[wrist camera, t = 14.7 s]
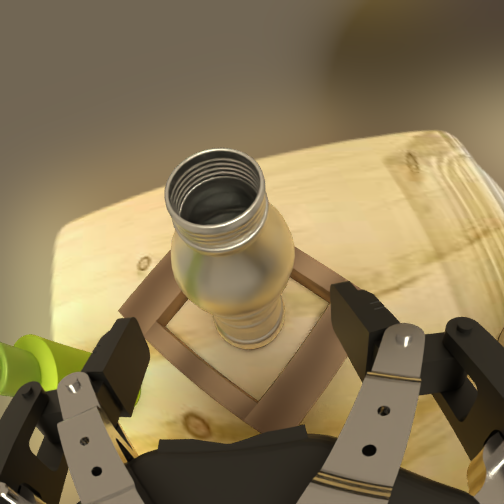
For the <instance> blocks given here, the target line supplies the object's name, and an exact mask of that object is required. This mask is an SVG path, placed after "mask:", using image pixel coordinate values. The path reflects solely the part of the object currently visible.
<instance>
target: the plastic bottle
mask: <svg viewBox="0 0 504 504" xmlns="http://www.w3.org/2000/svg"><path fill="white" fill-rule="evenodd" d="M165 202H166V207H167V210H168V212H169V214H170V216H171V217H172V221H173V225H174V228H175V232H174V234H173V237H172V243H171V263H172V270H173V273H174V277H175V280H176V282H177V284H178V286H179V288H180V289H181V291H182V292H183V293H184V294H185V295H186V297H187V298H188V299H189V300H191V301H192V302H193V303H194V304H195V305H197V306H198V307H199V308H201V309H202V310H204V311H206V312H208V313H210V314H212V315H213V320H214V323H215V326H216V329H217V330H218V332H219V334H220V335H221V336H222V337H223V339H224V340H225V341H227V342H228V343H230V344H231V345H233V346H235V347H238V348H242V349H255V348H260V347H262V346H264V345H266V344H268V343H269V342H271V341H272V340H273V339H274V338H275V337H276V336H277V335H278V333H279V332H280V330H281V328H282V325H283V323H284V318H285V308H284V303H283V300H282V297H281V293H282V292H283V290H284V288H285V287H286V285H287V283H288V280H289V278H290V275H291V272H292V269H293V265H294V258H295V250H294V242H293V238H292V235H291V232H290V230H289V228H288V226H287V224H286V222H285V220H284V218H283V216H282V215H281V214H280V213H279V211H278V210H277V209H276V208H275V207H274V206H273V205H271V204H270V203H269V202H268V198H267V194H266V191H265V179H264V176H263V173H262V170H261V168H260V166H259V165H258V163H257V162H256V161H255V160H254V159H253V158H252V157H250V156H249V155H247V154H246V153H243V152H241V151H239V150H235V149H230V148H212V149H207V150H203V151H201V152H198V153H195V154H194V155H191V156H190V157H188V158H186V159H185V160H184V161H182V162H181V163H180V164H179V165H178V166H177V167H176V168H175V169H174V170H173V172H172V173H171V175H170V176H169V178H168V181H167V183H166V187H165Z"/></svg>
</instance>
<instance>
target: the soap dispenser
mask: <svg viewBox="0 0 504 504" xmlns="http://www.w3.org/2000/svg"><path fill="white" fill-rule="evenodd" d="M90 355H91V353H90V352H86V351H83V350H79V349H76V348H72V347H69V346H66V345H63V344H60V343H57V342H54V341H51V340H47V339H45V338H42V337H39V336H36V335H32V334H29V335H25V336H23V337H21V338H20V339H18V340H17V342H16V343H15V344H14V346H11V345H8V344H5V343H2V342H0V395H3V396H10V397H14V395H15V394H16V392H17V391H18V389H19V388H20V387H21V386H23V385H24V384H26V383H28V382H32V381H36V382H39V383H40V385H41V386H42V388H43V389H44V390H45V391H50V390H55V389H57V386H58V384H59V382H60V381H61V380H62V379H63V378H64V377H65V376H67V375H69V374H71V373H74V372H81V370H82V369H83V367H84V365H85V363H86V362H87V360H88V358H89V357H90ZM140 392H141V388H140V391H139V394H138V397H137V400H136V403H135V405H136V404H137V402H138V400H139V397H140Z"/></svg>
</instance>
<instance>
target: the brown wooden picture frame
mask: <svg viewBox="0 0 504 504" xmlns="http://www.w3.org/2000/svg"><path fill="white" fill-rule="evenodd" d="M294 250H295V258H294V265H293V269H292V272H291V275H290V277H291V278H293V279H294V280H296V281H297V282H299V283H300V284H302V285H303V286H305V287H306V288H308V289H309V290H311V291H313V292H314V293H316V294H317V295H319V296H320V297H322V298H323V299H325V300H326V301H328V302H329V303H330V286H331V284H335V283H339V282H344V281H348V280H346V279H345V278H343V277H342V276H340V275H339V274H337V273H336V272H334V271H332V270H331V269H329V268H328V267H326V266H325V265H323V264H322V263H320V262H318V261H317V260H315V259H314V258H312V257H310V256H309V255H307V254H306V253H304V252H303V251H301V250H299V249H298V248H296V247H295V246H294ZM352 284H353V283H352ZM353 285H354V284H353ZM354 286H355V288H356V289H357V290H362V289H360V288H359V287H357V286H356V285H354ZM187 299H188V298H187V297H186V295H185V294H184V293H183V292H182V291H181V289H180V288H179V286H178V284H177V282H176V280H175V277H174V273H173V270H172V263H171V250H170V251H169V252H168V253H167V254H166V255H165V256H164V258H163V259H162V260H161V261H160V262H159V263H158V264H157V265H156V267H155V268H154V269H153V270H152V271H151V272H150V273H149V275H148V276H147V277H146V278H145V279H144V280H143V282H142V283H141V284H140V285H139V286H138V287H137V289H136V290H135V291H134V292H133V293H132V294H131V296H130V297H129V298H128V299H127V300H126V302H125V303H124V304H123V305H122V307H121V308H120V309H119V310H118V311H119V312H120V313H121V314H122V316H123V317H124V318H128V317H135V318H136V319H137V321H138V323H139V325H140V328H141V330H142V333H143V335H144V338H145V339H146V340H147V341H148V342H149V343H150V344H151V345H152V346H153V347H154V348H155V349H156V350H158V351H159V352H160V353H161V354H162V355H163V356H164V357H165V358H166V359H167V360H168V361H169V362H171V363H172V364H173V365H174V366H175V367H176V368H177V369H178V370H180V371H181V372H182V373H183V374H184V375H185V376H187V377H188V378H189V379H190V380H191V381H192V382H194V383H195V384H196V385H197V386H198V387H200V388H201V389H202V390H203V391H205V392H206V393H207V394H208V395H210V396H211V397H212V398H213V399H215V400H216V401H217V402H219V403H220V404H221V405H222V406H224V407H225V408H226V409H228V410H229V411H230V412H232V413H233V414H235V415H236V416H237V417H239V418H240V419H241V420H243V421H244V422H246V423H247V424H249V425H250V426H251V427H253V428H254V429H256V430H257V431H259V432H260V433H265V432H268V431H274V430H279V429H285V428H290V427H295V426H298V425H299V423H300V422H301V421H302V419H303V418H304V417H305V416H306V414H307V413H308V412H309V410H310V409H311V408H312V406H313V405H314V404H315V402H316V401H317V400H318V398H319V397H320V396H321V394H322V393H323V391H324V390H325V389H326V387H327V386H328V384H329V383H330V381H331V380H332V379H333V377H334V376H335V374H336V373H337V371H338V370H339V368H340V367H341V365H342V364H343V362H344V360H345V359H346V357H347V356H348V355H347V354H346V352H345V350H344V348H343V346H342V345H341V343H340V341H339V339H338V337H337V336H336V334H335V332H334V330H333V327H332V322H331V303H330V304H329V306H328V307H327V309H326V310H325V312H324V313H323V315H322V316H321V318H320V319H319V321H318V322H317V324H316V325H315V327H314V328H313V329H312V331H311V332H310V334H309V335H308V337H307V338H306V339H305V341H304V342H303V344H302V345H301V347H300V348H299V349H298V351H297V352H296V353H295V355H294V356H293V358H292V359H291V360H290V362H289V363H288V364H287V366H286V367H285V368H284V370H283V371H282V372H281V374H280V375H279V376H278V378H277V379H276V380H275V381H274V383H273V384H272V385H271V387H270V388H269V389H268V390H267V392H266V393H265V394H264V395H263V397H262V398H261V399H260V400H259V402H258V401H257V400H256V399H254V398H253V397H251V396H250V395H249V394H247V393H246V392H244V391H243V390H242V389H240V388H239V387H238V386H236V385H235V384H234V383H232V382H231V381H230V380H228V379H227V378H226V377H224V376H223V375H222V374H221V373H219V372H218V371H217V370H215V369H214V368H213V367H212V366H210V365H209V364H208V363H207V362H205V361H204V360H203V359H202V358H201V357H199V356H198V355H197V354H196V353H195V352H193V351H192V350H191V349H190V348H189V347H187V346H186V345H185V344H184V343H183V342H182V341H180V340H179V339H178V338H177V337H176V336H175V335H174V334H172V333H171V332H170V331H169V330H168V329H167V328H166V327H165V326H166V325H167V323H168V322H169V321H170V320H171V318H172V317H173V316H174V315H175V314H176V313H177V311H178V310H179V309H180V308H181V307H182V305H183V304H184V303H185V302H186V301H187Z"/></svg>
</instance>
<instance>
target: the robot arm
mask: <svg viewBox="0 0 504 504" xmlns="http://www.w3.org/2000/svg"><path fill="white" fill-rule="evenodd" d="M330 303H331V322H332V327H333V330H334V332H335V334H336V336H337V337H338V339H339V341H340V343H341V345H342V346H343V348H344V350H345V352H346V354H347V355H348V357H349V359H350V361H351V363H352V365H353V366H354V368H355V370H356V372H357V374H358V376H359V377H360V379H361V381H362V383H363V384H362V386H361V389H360V391H359V393H358V396H357V398H356V401H355V403H354V405H353V407H352V410H351V412H350V414H349V416H348V418H347V421H346V423H345V425H344V427H343V429H342V431H341V433H340V435H339V437H338V438H336V437H333V436H328V435H320V434H307V432H306V428H305V424H304V425H300V426H295V427H290V428H285V429H279V430H274V431H268V432H265V433H262V434H259V435H256V436H254V437H251V438H248V439H245V440H242V441H239V442H235V443H232V444H223V443H215V442H208V441H201V440H195V439H174V440H161V439H160V440H159V445H158V449H157V450H153V451H150V452H147V453H144V454H142V455H140V456H138V454H137V452H136V451H135V449H134V447H133V446H132V444H131V442H130V441H129V439H128V437H127V435H126V433H125V432H124V430H123V428H122V426H121V425H120V423H119V422H118V420H119V417H131V416H132V413H133V409H134V406H135V403H136V400H137V397H138V394H139V391H140V388H141V384H142V381H143V378H144V375H145V373H146V370H147V367H148V364H149V361H150V352H149V348H148V345H147V343H146V340H145V338H144V335H143V333H142V330H141V328H140V325H139V323H138V321H137V319H136V318H135V317H128V318H120V319H117V320H116V322H115V323H114V325H113V327H112V328H111V330H110V331H108V332H107V333H106V334H105V335H104V336H103V337H102V338H101V339H100V340H99V342H98V344H97V345H96V347H95V348H94V350H93V353H91V355H90V357H89V358H88V360H87V362H86V363H85V365H84V367H83V369H82V370H81V372H74V373H71V374H69V375H67V376H65V377H64V378H63V379H62V380H61V381H60V382H59V384H58V386H57V389H55V390H50V391H45V390H44V389H43V388H42V386H41V385H40V383H39V382H36V381H32V382H28V383H26V384H24V385H23V386H21V387H20V388H19V389H18V391H17V392H16V394H15V395H14V397H13V399H12V401H11V402H10V404H9V405H8V407H7V409H6V410H5V412H4V414H3V416H2V418H1V419H0V504H59V501H60V497H61V493H62V490H63V486H64V482H65V479H66V475H67V472H68V468H69V470H70V473H71V476H72V479H73V482H74V485H75V487H76V490H77V493H78V495H79V498H80V500H81V501H80V502H78V503H77V504H504V329H503V331H502V333H501V335H500V337H499V340H498V341H497V340H496V339H495V338H494V337H493V336H492V335H491V334H490V333H489V332H487V331H486V330H485V329H484V328H483V327H482V326H481V325H480V324H479V323H478V322H476V321H475V320H473V319H470V318H467V317H457V318H453V319H451V320H450V321H449V322H448V323H447V325H446V329H445V332H443V333H435V334H424V332H423V330H422V329H421V328H419V327H418V326H415V325H413V324H408V323H400V322H399V321H398V320H397V319H396V318H395V317H394V316H393V314H392V313H391V312H390V311H389V310H388V309H387V308H386V307H384V305H383V304H382V303H381V302H379V300H378V299H377V298H376V297H375V296H374V294H372V293H370V292H368V291H365V290H357V289H356V288H355V286H354V285H353V284H352V283H351V282H350V281H344V282H339V283H335V284H331V286H330ZM467 375H469V376H470V377H471V379H472V380H473V381H474V383H475V384H476V386H477V390H478V391H477V390H476V388H475V387H474V386H473V384H472V383H471V382H470V381H469V379H468V378H467ZM426 394H432V395H433V397H434V398H435V400H436V402H437V403H438V405H439V406H440V408H441V410H442V411H443V413H444V415H445V416H446V418H447V420H448V421H449V423H450V425H451V426H452V428H453V430H454V432H455V433H456V435H457V437H458V439H459V440H460V442H461V444H462V446H463V447H464V449H465V451H466V453H467V455H468V457H469V458H470V460H471V463H470V465H469V467H468V470H467V479H468V487H469V493H467V492H465V491H462V490H459V489H456V488H453V487H450V486H447V485H444V484H442V483H439V482H436V481H433V480H431V479H428V478H426V477H423V476H421V475H418V474H416V473H413V472H411V471H408V470H406V469H404V468H402V467H400V465H401V462H402V459H403V456H404V452H405V449H406V446H407V442H408V439H409V435H410V431H411V427H412V423H413V419H414V415H415V410H416V406H417V401H418V396H419V395H426ZM35 427H37V428H38V429H39V430H40V431H41V433H42V434H43V435H44V439H43V441H42V444H41V446H40V449H39V451H38V454H37V456H35V455H34V454H33V453H32V452H31V450H30V447H29V440H30V438H31V436H32V433H33V431H34V429H35Z"/></svg>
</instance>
